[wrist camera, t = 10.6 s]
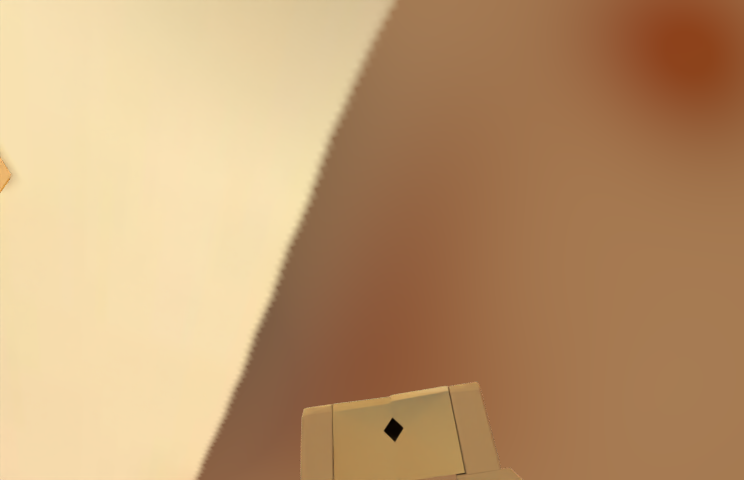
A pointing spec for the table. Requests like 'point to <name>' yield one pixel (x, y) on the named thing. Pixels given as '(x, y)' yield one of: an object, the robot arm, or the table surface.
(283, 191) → the table surface
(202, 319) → the table surface
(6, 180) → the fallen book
